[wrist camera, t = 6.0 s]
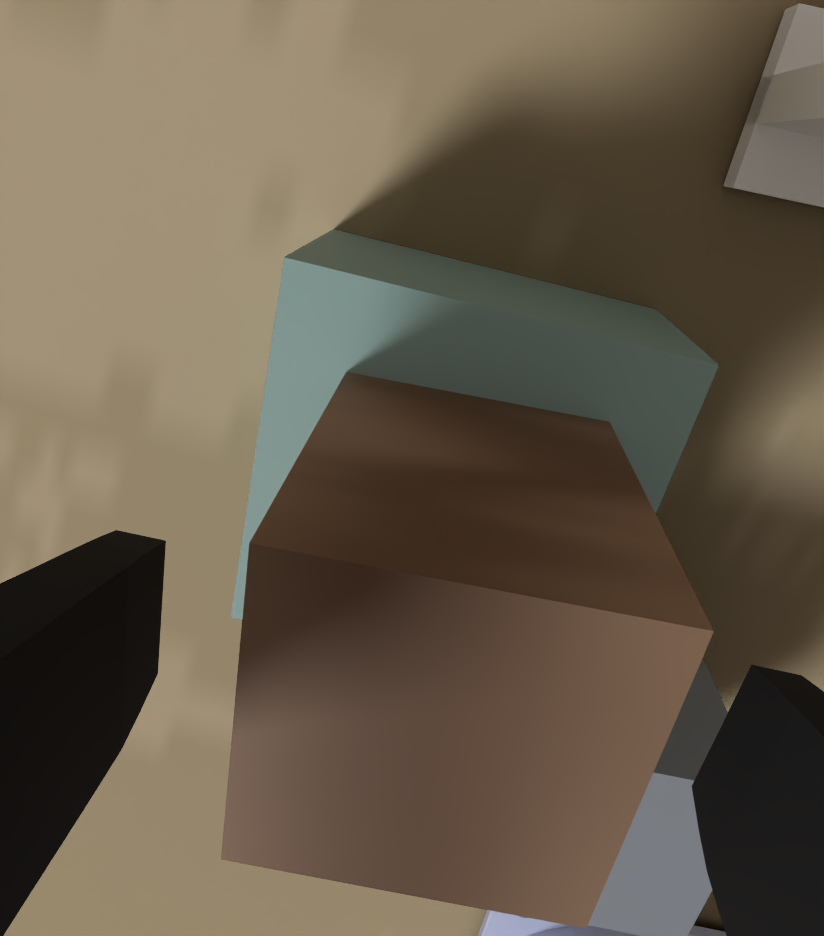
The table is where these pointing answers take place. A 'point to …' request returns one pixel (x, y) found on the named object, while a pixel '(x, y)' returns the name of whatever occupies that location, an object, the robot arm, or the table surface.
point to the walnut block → (456, 654)
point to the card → (787, 116)
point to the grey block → (666, 832)
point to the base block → (466, 355)
